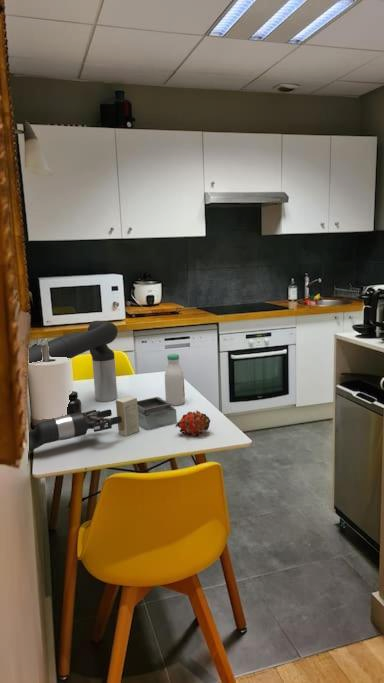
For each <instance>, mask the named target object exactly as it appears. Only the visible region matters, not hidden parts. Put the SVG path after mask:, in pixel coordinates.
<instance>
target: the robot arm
mask: <svg viewBox="0 0 384 683" xmlns="http://www.w3.org/2000/svg"><path fill="white" fill-rule="evenodd" d="M117 336H118V327H117V326H116V324H115V323H113V322H111V321H106V320H93V321H92V322H90V323H89V325H88V328H87V330H86V331H80V332H74V333H73V332H72V333H69V334H64V335H61V336H58V337H56V338H53V339H51V340H48V341H47V342H48V346H49V354H50V356H51V357H67V358H70V359H69V360H71V359H73V358H75V357H76V356H79V355H82V354H83V353H85V352H88V351H89V354H90V355H91V359H92V360H91V361H92V372H93V382H94V383H93V385H94V386H93V387H94V398H95V401H97V402H111V401H114V400H115V401H116V400H118V390H117V389H118V388H117V387H118V386H117V385H118V384H117V374H116V373H117V372H116V371H117V370H116V359H115V358H116V357H115V352H114V350H113V349H110V347H109V346H108V345H109V344H112V343H113V342H114V341H115V339H116V338H117ZM40 344H41V343H40ZM40 344H37V345H33V346H30V347H28V348H29V363H32V362H37V361H40V362H42V361H41V360H42V352H41V345H40ZM37 363H38V362H37ZM112 412H113V411H112V410H111V409H105V410H96V409H91V410H88V411H85V412H82V413H81V412H79V413H74V414H70V415H65V416H63V415H61V416H59V417H55V418H51V419H45V420H42V421H39V422H38V423H36V424H35V426H34V429H33V430H31V431H29V452H31V451H34V450H36V449H38V448H40V447H41V446H43V445H46V444H50V443H54V442H58V441H65V440H70V439H74V438H77V437H82V436H85V435H87V432H88V430H93V432H94V433H97V432H102V431H105V430H110V429H112V428H113V426H114V425H118V423H121V422H122V417H121V416H117V415H116V416H114V417H112V415H113V413H112ZM109 417H110V418H109ZM29 452H28V453H29Z"/></svg>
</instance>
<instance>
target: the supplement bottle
mask: <svg viewBox="0 0 384 683" xmlns="http://www.w3.org/2000/svg"><path fill="white" fill-rule="evenodd" d="M71 391H72V393H71V394H70V395H69V400H70V402H69V404H68V407H67V415H70V414H74V413H79V412H81V413H83V412H82V409H83V408H82V401H81V399H79V396H78V392H77V391H74V390H71Z"/></svg>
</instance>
